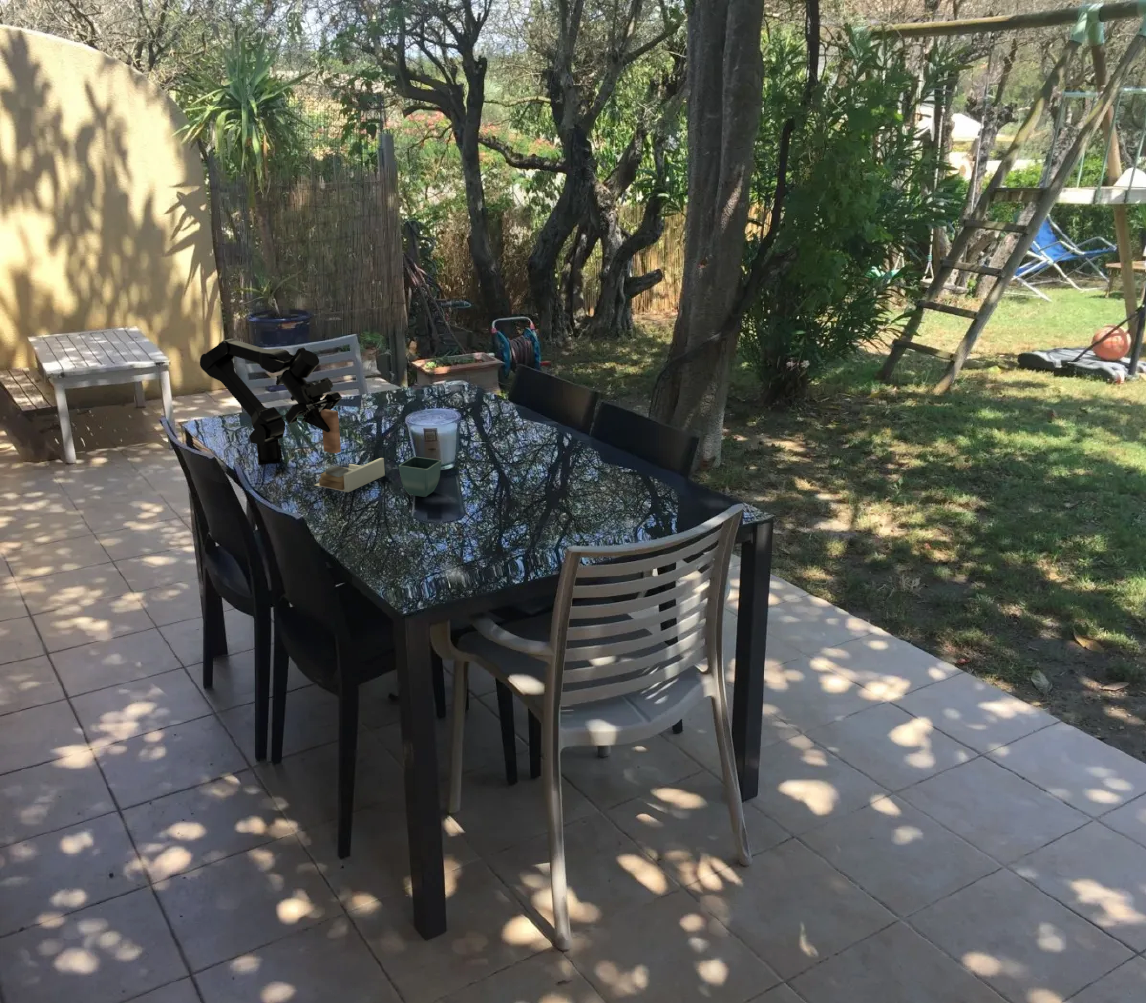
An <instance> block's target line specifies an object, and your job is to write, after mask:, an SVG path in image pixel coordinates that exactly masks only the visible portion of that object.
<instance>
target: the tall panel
mask: <svg viewBox="0 0 1146 1003" xmlns="http://www.w3.org/2000/svg"><path fill="white" fill-rule="evenodd" d="M321 417H322V418H323V420H324V421H325V422H326V424H327V425H328V427H329V428H330V432H326V431H324V430H322V429H321V431H322V439H323V440H322V441H323V443H322V444H323V451H324V452H326V453H332V454H339V453H341V452H342V446H341V434H340V422H339V421H340V420H339V410H333V409H331V410H328V409H324V410H321Z"/></svg>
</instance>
